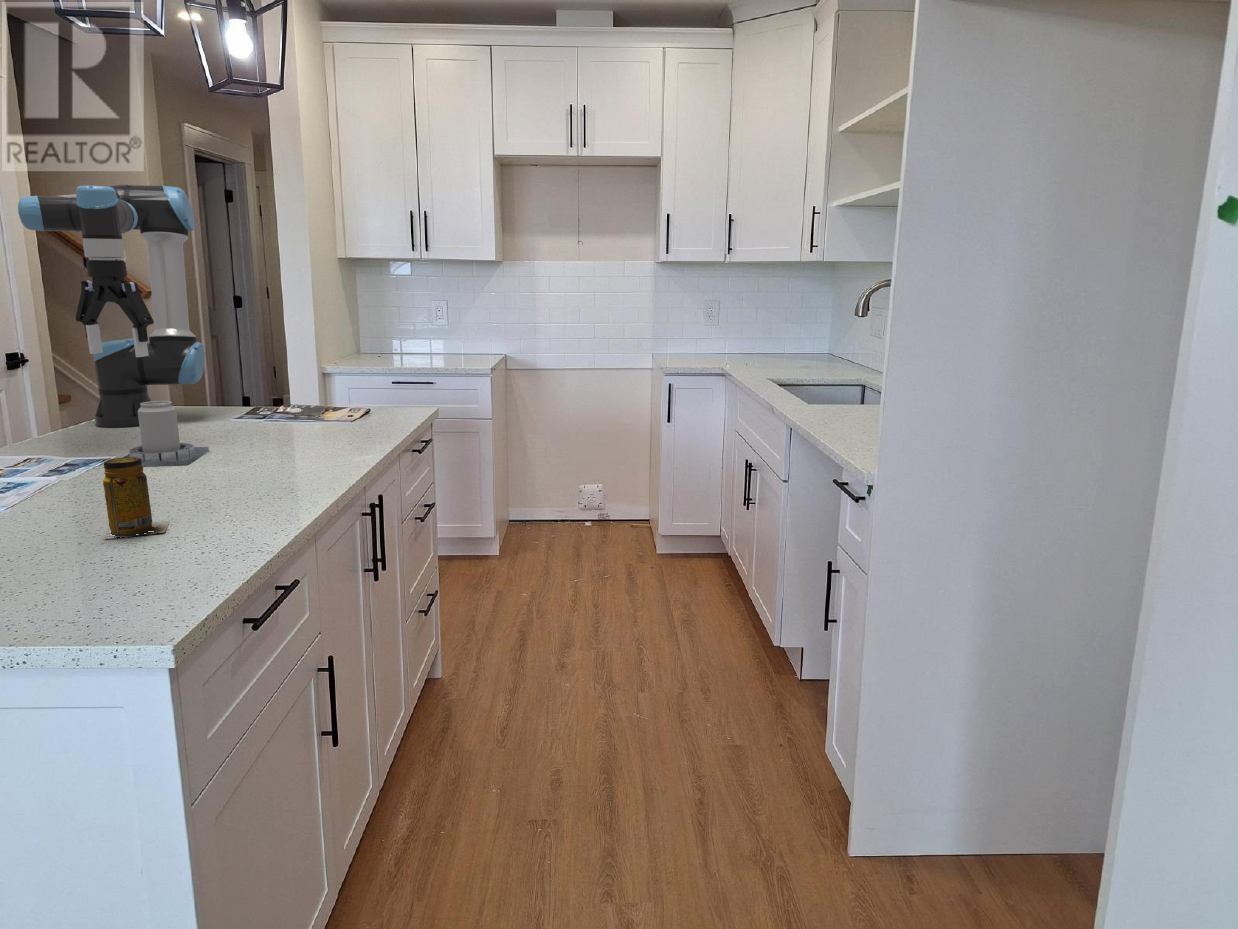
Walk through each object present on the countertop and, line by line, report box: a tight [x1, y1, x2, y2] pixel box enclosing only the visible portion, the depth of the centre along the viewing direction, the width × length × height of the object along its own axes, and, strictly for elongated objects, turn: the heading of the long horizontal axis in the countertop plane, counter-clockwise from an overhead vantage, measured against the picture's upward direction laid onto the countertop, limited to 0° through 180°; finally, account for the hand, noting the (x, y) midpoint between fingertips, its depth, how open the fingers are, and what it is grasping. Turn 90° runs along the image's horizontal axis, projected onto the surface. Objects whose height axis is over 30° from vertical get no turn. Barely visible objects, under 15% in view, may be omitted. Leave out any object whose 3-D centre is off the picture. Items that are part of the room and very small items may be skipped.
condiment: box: [102, 456, 170, 540], centre depth 130 cm, size 7×8×12 cm
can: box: [138, 400, 181, 453], centre depth 180 cm, size 8×8×12 cm
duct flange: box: [124, 441, 210, 467], centre depth 182 cm, size 15×15×2 cm
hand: (119, 355), depth 183 cm, fingers open, 13 cm apart
